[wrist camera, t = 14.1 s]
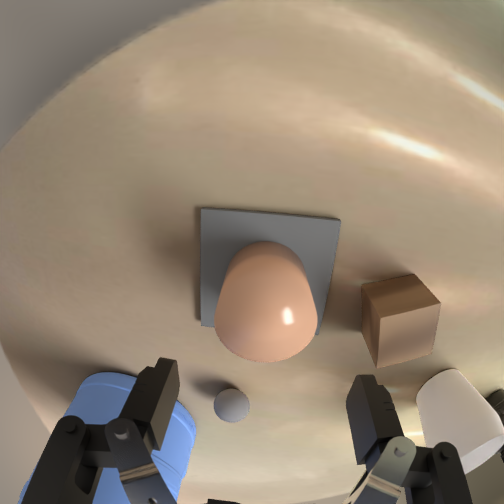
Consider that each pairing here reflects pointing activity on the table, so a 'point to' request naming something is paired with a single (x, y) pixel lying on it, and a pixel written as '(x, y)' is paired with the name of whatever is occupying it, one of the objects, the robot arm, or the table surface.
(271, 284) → the peach rounded capsule
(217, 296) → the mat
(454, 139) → the table surface
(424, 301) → the walnut block
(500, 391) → the supplement bottle
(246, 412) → the grey ball
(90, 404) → the water jug
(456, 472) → the robot arm
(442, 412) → the cup
